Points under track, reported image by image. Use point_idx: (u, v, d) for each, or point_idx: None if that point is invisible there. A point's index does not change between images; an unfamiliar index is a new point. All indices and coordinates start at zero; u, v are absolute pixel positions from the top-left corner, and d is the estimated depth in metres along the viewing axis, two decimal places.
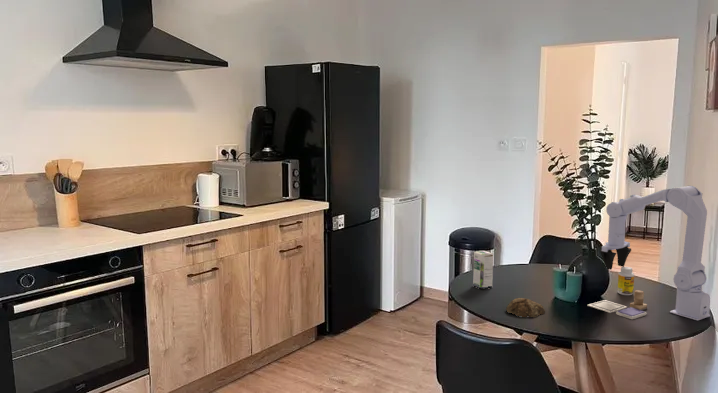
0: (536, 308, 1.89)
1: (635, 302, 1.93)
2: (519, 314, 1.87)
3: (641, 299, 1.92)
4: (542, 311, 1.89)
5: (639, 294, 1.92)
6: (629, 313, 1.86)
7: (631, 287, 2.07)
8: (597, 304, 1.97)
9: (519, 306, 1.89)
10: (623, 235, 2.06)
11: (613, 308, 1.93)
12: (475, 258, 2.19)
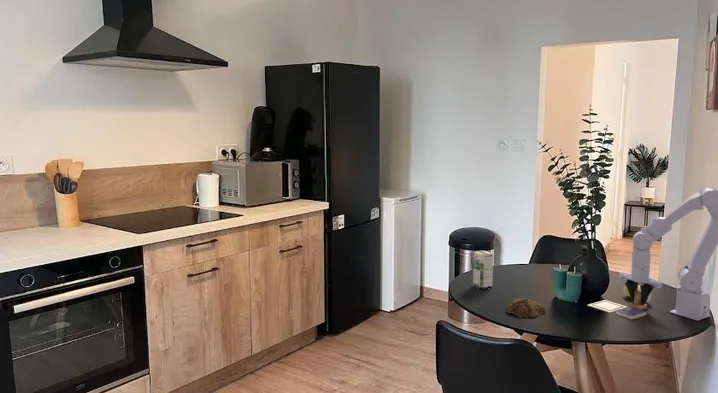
0: (536, 308, 1.89)
1: (635, 302, 1.93)
2: (519, 314, 1.87)
3: None
4: (542, 311, 1.89)
5: (639, 294, 1.92)
6: (629, 313, 1.86)
7: None
8: (597, 304, 1.97)
9: (519, 306, 1.88)
10: (636, 268, 1.90)
11: (613, 308, 1.93)
12: (475, 258, 2.19)
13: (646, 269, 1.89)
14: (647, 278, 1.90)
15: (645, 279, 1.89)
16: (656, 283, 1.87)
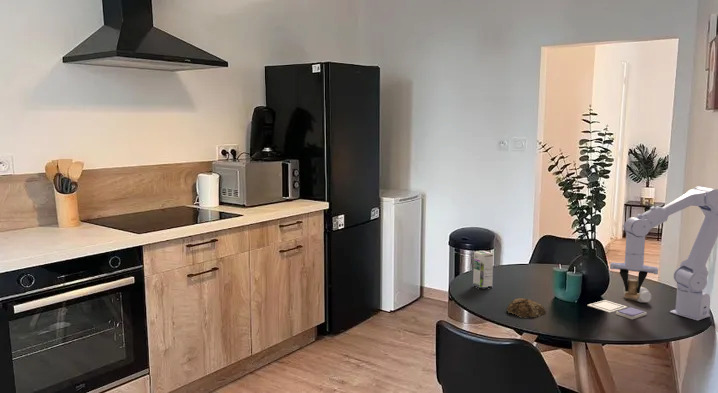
0: (537, 308, 1.89)
1: (630, 292, 1.86)
2: (520, 314, 1.86)
3: (636, 288, 1.85)
4: (543, 311, 1.89)
5: (635, 283, 1.85)
6: (629, 313, 1.86)
7: None
8: (597, 304, 1.97)
9: (520, 306, 1.88)
10: (634, 256, 1.82)
11: (613, 308, 1.93)
12: (475, 258, 2.19)
13: (643, 256, 1.83)
14: (643, 265, 1.83)
15: (642, 266, 1.83)
16: (654, 269, 1.81)
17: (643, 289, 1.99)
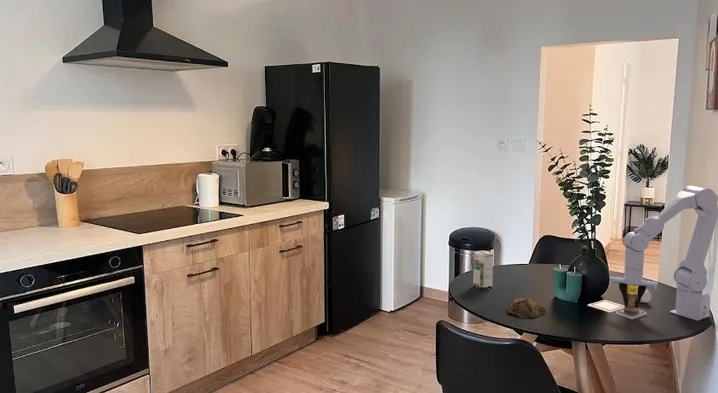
0: (537, 308, 1.89)
1: (630, 305, 1.86)
2: (520, 314, 1.86)
3: (635, 301, 1.86)
4: (543, 311, 1.89)
5: (634, 296, 1.85)
6: (629, 313, 1.86)
7: None
8: (597, 304, 1.97)
9: (520, 306, 1.88)
10: (633, 270, 1.83)
11: (613, 308, 1.93)
12: (475, 258, 2.19)
13: (642, 271, 1.83)
14: (642, 280, 1.84)
15: (641, 281, 1.84)
16: (653, 284, 1.82)
17: None
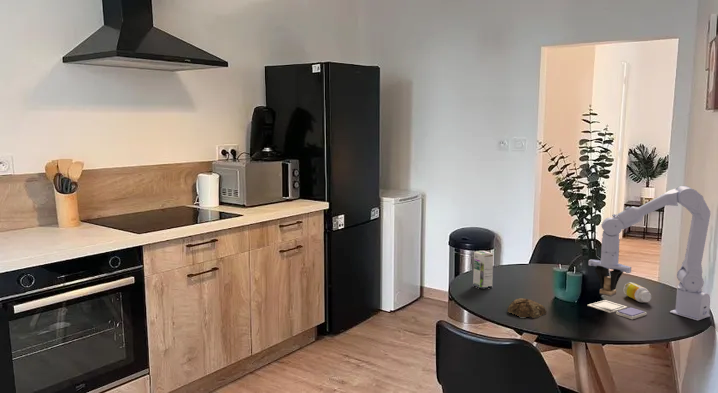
0: (537, 308, 1.89)
1: (605, 288, 1.94)
2: (520, 315, 1.86)
3: None
4: (543, 311, 1.89)
5: (609, 280, 1.93)
6: (629, 313, 1.86)
7: None
8: (597, 304, 1.97)
9: (520, 307, 1.88)
10: (606, 254, 1.91)
11: (613, 308, 1.93)
12: (475, 258, 2.19)
13: (615, 255, 1.91)
14: (616, 263, 1.91)
15: (615, 264, 1.91)
16: (625, 268, 1.88)
17: (643, 289, 1.99)
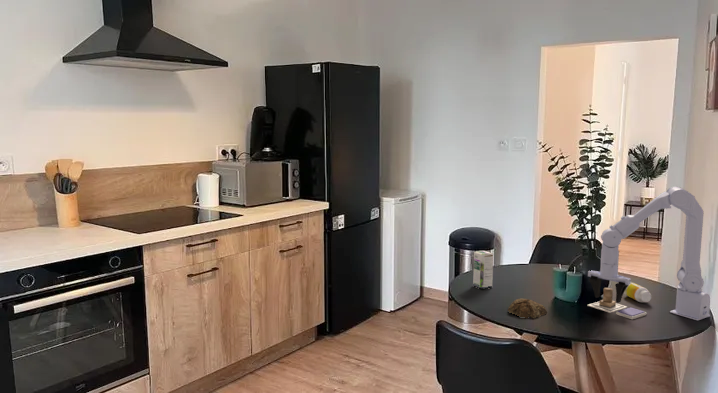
0: (538, 309, 1.89)
1: (605, 300, 1.95)
2: (521, 315, 1.86)
3: (610, 296, 1.94)
4: (544, 312, 1.89)
5: (609, 291, 1.94)
6: (629, 313, 1.86)
7: None
8: (597, 304, 1.97)
9: (521, 307, 1.88)
10: (605, 265, 1.92)
11: (613, 308, 1.93)
12: (475, 258, 2.19)
13: (615, 266, 1.91)
14: (616, 275, 1.92)
15: (614, 276, 1.92)
16: (625, 280, 1.89)
17: (643, 289, 1.99)
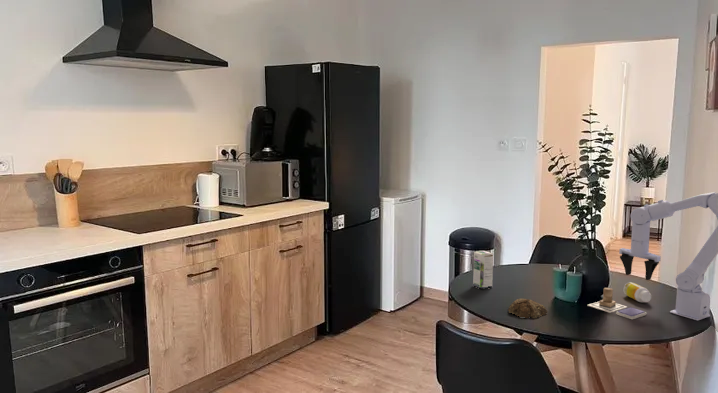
0: (538, 309, 1.88)
1: (605, 300, 1.95)
2: (521, 315, 1.86)
3: (610, 296, 1.94)
4: (544, 312, 1.89)
5: (609, 291, 1.94)
6: (629, 313, 1.86)
7: None
8: (597, 304, 1.97)
9: (521, 307, 1.88)
10: (635, 242, 1.94)
11: (613, 308, 1.93)
12: (475, 258, 2.19)
13: (645, 243, 1.93)
14: (646, 252, 1.94)
15: (644, 253, 1.94)
16: (654, 257, 1.91)
17: (643, 289, 1.99)
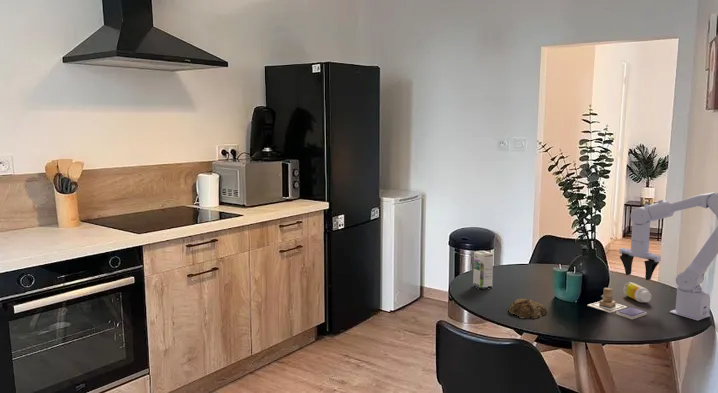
0: (538, 309, 1.88)
1: (605, 300, 1.95)
2: (521, 315, 1.86)
3: (610, 296, 1.94)
4: (544, 312, 1.89)
5: (609, 291, 1.94)
6: (629, 313, 1.86)
7: None
8: (597, 304, 1.97)
9: (521, 307, 1.88)
10: (635, 242, 1.94)
11: (613, 308, 1.93)
12: (475, 258, 2.19)
13: (645, 243, 1.93)
14: (646, 252, 1.94)
15: (644, 253, 1.94)
16: (654, 257, 1.91)
17: (643, 289, 1.99)
